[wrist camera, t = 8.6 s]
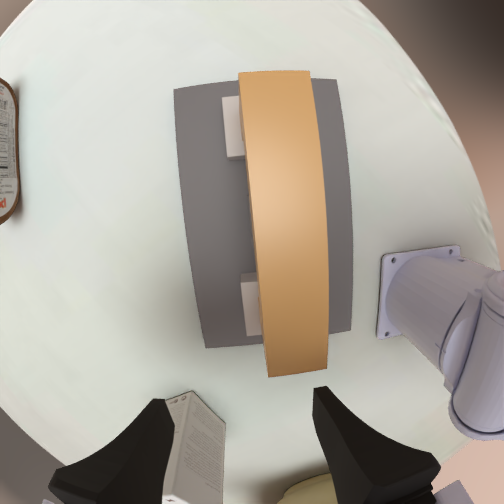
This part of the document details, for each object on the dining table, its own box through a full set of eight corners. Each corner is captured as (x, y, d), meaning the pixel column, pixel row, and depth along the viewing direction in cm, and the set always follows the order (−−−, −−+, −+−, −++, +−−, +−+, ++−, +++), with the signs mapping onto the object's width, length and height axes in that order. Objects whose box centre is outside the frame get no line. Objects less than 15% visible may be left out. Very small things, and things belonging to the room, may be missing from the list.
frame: (287, 108, 15) (309, 70, 10) (303, 318, 18) (326, 368, 13) (239, 111, 15) (238, 72, 9) (260, 323, 18) (268, 377, 13)
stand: (332, 83, 18) (353, 61, 13) (346, 325, 22) (366, 352, 18) (176, 93, 17) (160, 71, 13) (207, 341, 22) (200, 374, 18)
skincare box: (160, 401, 23) (130, 496, 12) (192, 389, 23) (172, 494, 11) (195, 434, 25) (183, 523, 13) (227, 424, 24) (225, 520, 13)
